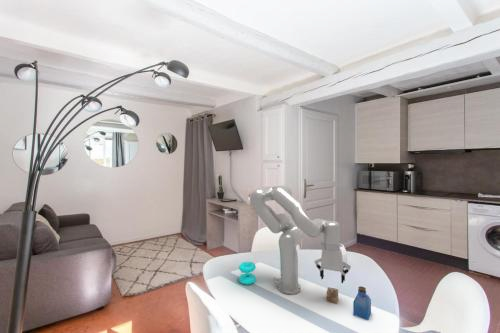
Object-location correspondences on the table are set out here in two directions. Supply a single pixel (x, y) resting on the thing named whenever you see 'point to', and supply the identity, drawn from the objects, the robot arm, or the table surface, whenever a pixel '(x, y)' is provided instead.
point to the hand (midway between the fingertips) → (332, 279)
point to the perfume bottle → (362, 304)
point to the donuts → (247, 273)
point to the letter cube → (332, 295)
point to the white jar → (343, 253)
